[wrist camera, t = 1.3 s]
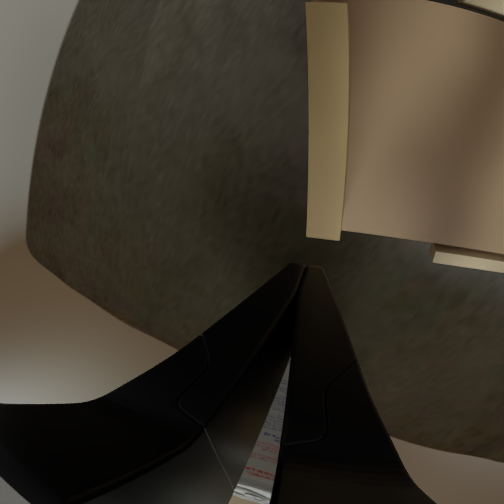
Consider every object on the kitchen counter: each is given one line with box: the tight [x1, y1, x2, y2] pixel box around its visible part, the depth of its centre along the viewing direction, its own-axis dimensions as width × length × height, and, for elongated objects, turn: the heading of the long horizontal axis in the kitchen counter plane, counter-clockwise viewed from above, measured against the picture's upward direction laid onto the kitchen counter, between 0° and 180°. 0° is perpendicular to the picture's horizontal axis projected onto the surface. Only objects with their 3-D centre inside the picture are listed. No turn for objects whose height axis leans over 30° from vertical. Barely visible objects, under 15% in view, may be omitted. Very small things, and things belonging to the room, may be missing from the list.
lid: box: [305, 0, 504, 254], centre depth 9 cm, size 13×10×3 cm
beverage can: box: [233, 357, 291, 504], centre depth 23 cm, size 6×6×15 cm
